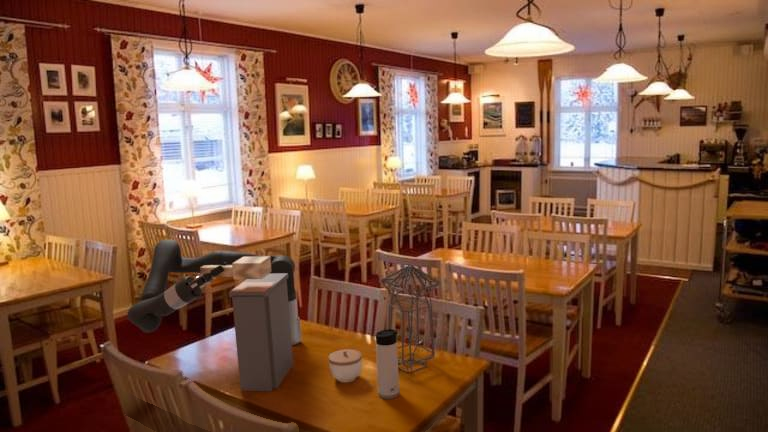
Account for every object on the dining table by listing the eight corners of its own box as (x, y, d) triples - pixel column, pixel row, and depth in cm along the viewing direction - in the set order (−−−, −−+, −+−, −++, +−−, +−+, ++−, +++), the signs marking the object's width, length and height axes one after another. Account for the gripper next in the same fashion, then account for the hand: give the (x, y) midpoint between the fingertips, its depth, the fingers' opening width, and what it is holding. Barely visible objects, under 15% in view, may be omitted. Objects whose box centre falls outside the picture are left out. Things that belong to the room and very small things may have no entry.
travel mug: (398, 399, 171) (395, 335, 168) (376, 398, 172) (373, 334, 169) (402, 390, 177) (399, 327, 174) (380, 389, 178) (377, 327, 175)
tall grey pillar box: (237, 390, 182) (228, 291, 177) (261, 362, 204) (254, 273, 199) (274, 391, 181) (266, 291, 175) (294, 362, 202) (288, 272, 197)
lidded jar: (337, 388, 180) (336, 360, 179) (324, 376, 190) (323, 349, 188) (368, 380, 185) (367, 352, 184) (354, 368, 194) (353, 342, 193)
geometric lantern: (415, 353, 205) (414, 257, 199) (444, 369, 192) (443, 266, 186) (378, 364, 196) (375, 264, 190) (405, 381, 183) (403, 274, 177)
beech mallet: (196, 279, 179) (195, 263, 178) (209, 271, 188) (207, 256, 187) (261, 279, 176) (260, 263, 175) (271, 271, 185) (270, 256, 184)
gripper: (165, 289, 178) (208, 261, 175) (186, 277, 192) (227, 251, 189) (178, 309, 179) (222, 282, 175) (199, 296, 193) (239, 270, 189)
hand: (224, 266), depth 182 cm, fingers closed on beech mallet, 3 cm apart
